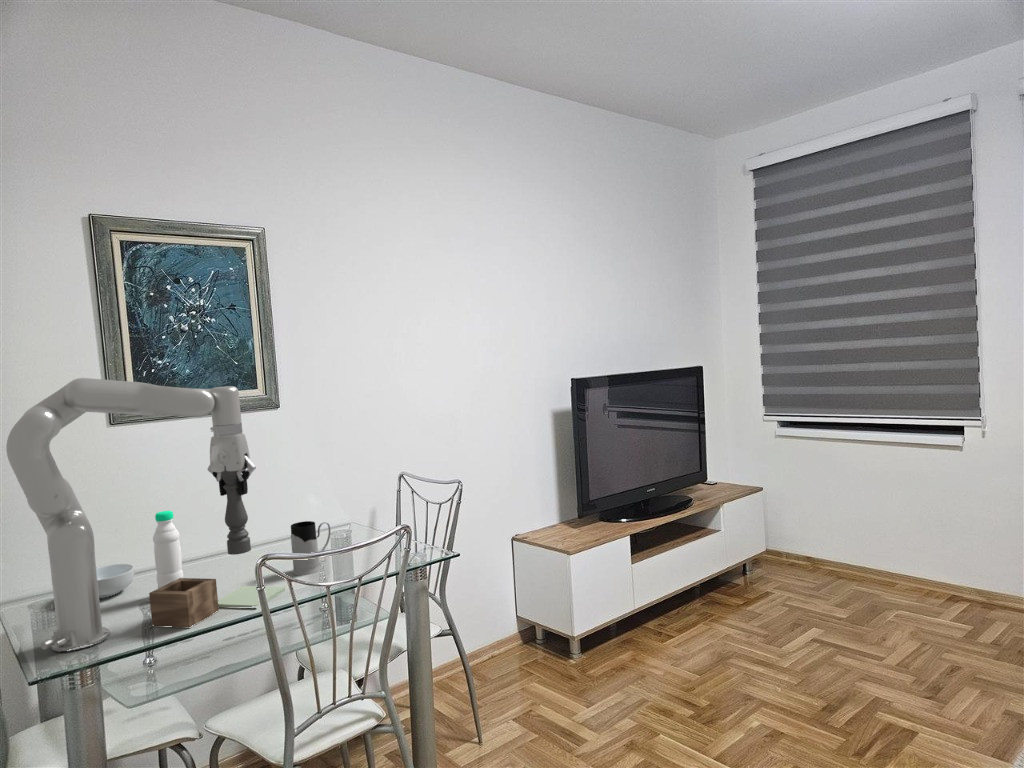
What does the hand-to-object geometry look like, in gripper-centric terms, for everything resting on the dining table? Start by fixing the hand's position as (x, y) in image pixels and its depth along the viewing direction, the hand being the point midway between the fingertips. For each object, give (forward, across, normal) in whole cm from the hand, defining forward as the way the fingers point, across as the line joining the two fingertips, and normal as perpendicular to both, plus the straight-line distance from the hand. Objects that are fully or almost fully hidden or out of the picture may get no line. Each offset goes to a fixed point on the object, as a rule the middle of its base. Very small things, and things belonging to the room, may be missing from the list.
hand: (234, 493), depth 196 cm
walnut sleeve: (+31, -8, -14) cm, 35 cm away
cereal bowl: (+31, -49, +1) cm, 58 cm away
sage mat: (+31, +1, +1) cm, 31 cm away
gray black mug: (+31, +6, +28) cm, 43 cm away
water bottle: (+31, -26, +2) cm, 41 cm away
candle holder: (+17, 0, 0) cm, 17 cm away
